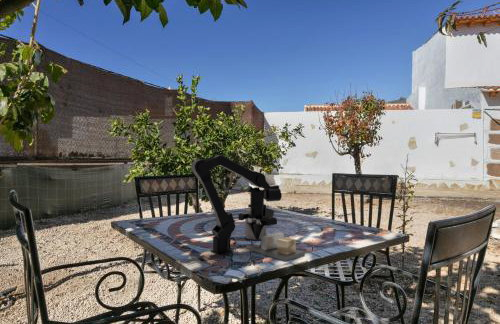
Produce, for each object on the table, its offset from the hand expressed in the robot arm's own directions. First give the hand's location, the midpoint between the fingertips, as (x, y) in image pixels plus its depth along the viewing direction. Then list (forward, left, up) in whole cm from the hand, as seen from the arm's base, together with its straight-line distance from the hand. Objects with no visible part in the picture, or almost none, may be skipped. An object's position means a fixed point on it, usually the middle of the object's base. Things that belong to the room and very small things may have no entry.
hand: (257, 238), depth 152 cm
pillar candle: (+12, +14, -4) cm, 19 cm away
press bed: (0, -10, -4) cm, 11 cm away
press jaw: (0, -9, -2) cm, 9 cm away
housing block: (0, -17, -2) cm, 17 cm away
